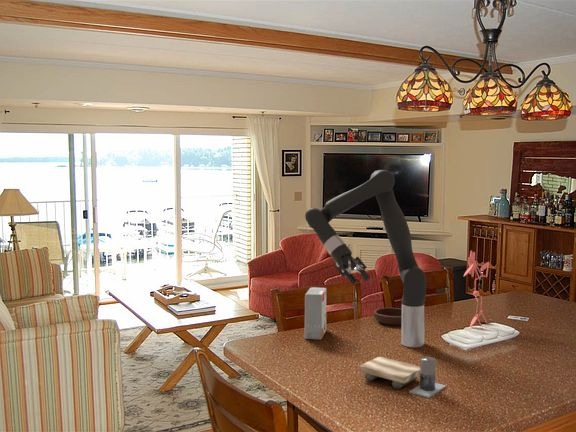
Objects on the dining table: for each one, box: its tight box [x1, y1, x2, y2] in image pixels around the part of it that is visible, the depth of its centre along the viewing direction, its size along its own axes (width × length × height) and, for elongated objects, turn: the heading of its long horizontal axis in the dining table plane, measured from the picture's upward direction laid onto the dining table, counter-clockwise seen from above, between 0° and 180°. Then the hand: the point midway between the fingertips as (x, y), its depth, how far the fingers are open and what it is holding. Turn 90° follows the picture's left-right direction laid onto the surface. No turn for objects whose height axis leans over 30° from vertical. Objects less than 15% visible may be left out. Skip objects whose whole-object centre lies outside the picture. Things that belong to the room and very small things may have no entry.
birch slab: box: [358, 356, 420, 390], centre depth 205 cm, size 13×18×5 cm
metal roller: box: [419, 356, 437, 391], centre depth 196 cm, size 5×5×10 cm
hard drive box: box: [304, 286, 327, 341], centre depth 260 cm, size 16×8×20 cm, turn 168°
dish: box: [373, 307, 402, 326], centre depth 280 cm, size 18×22×5 cm
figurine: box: [455, 250, 492, 329], centre depth 274 cm, size 15×26×35 cm, turn 148°
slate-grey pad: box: [409, 382, 447, 399], centre depth 197 cm, size 12×7×1 cm, turn 138°
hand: (361, 281), depth 226 cm, fingers open, 8 cm apart
